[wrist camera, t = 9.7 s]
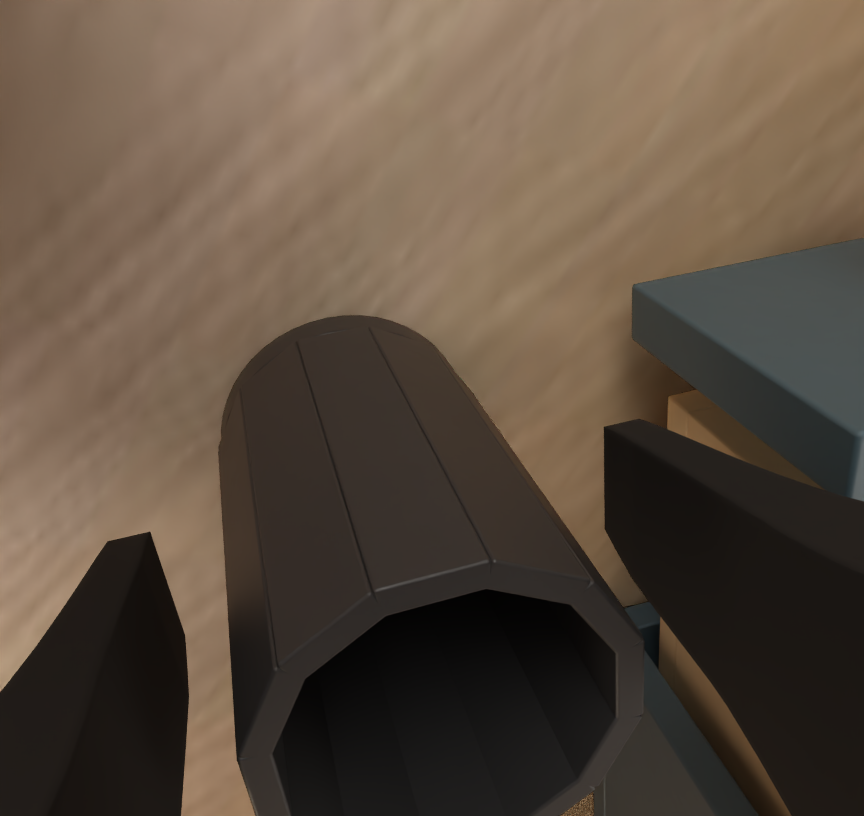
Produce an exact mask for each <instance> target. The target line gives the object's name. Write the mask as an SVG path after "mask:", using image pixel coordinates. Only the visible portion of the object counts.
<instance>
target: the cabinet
mask: <svg viewBox="0 0 864 816" xmlns="http://www.w3.org/2000/svg"><path fill="white" fill-rule="evenodd" d="M624 609H625V611H626V612H627V614H628V615H629V616H630V618H631V619H632V621H633V622H634V624H635V625H636V626H637V628H638V629H639V631H640V632H641V634H642V636H643V639H644V641H645V654H644V711H643V714H641V715H642V718H641V720H640V721H639V723H638V725H637V726H636V728H635V729H634V731H633V732H632V734H631V736H630V737H629V739H628V740H627V742H626V744H625V745H624V747H623V748H622V750H621V751H620V753H619V755H618V756H617V758H616V759H615V761H614V763H613V764H612V766H611V767H610V769H609V770H608V772H607V774H606V775H605V777H604V778H603V780H602V782H601V783H600V785H599V786H597V787H595V790H594V816H759V815H758V813H757V812H756V810H755V809H754V807H753V806H752V805H751V803H750V802H749V800H748V799H747V797H746V796H745V794H744V793H743V792H742V790H741V789H740V787H739V786H738V784H737V783H736V781H735V780H734V778H733V777H732V776H731V774H730V773H729V771H728V770H727V768H726V767H725V765H724V764H723V763H722V761H721V760H720V758H719V757H718V755H717V754H716V752H715V751H714V750H713V748H712V747H711V745H710V744H709V742H708V741H707V739H706V738H705V736H704V735H703V734H702V732H701V731H700V729H699V728H698V726H697V725H696V723H695V722H694V721H693V719H692V718H691V716H690V715H689V713H688V712H687V710H686V709H685V708H684V706H683V705H682V703H681V702H680V700H679V699H678V697H677V696H676V694H675V693H674V692H673V690H672V689H671V687H670V686H669V684H668V683H667V681H666V680H665V679H664V677H663V676H662V674H661V673H660V671H659V670H658V668H659V640H660V615H659V614H658V613H657V611H656V610H655V609H654V607H653V606H652V605H651V603H650V602H645V603H642V604H638V605H634V606H631V607H627V608H624Z"/></svg>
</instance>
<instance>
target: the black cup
mask: <svg viewBox="0 0 864 816" xmlns="http://www.w3.org/2000/svg"><path fill="white" fill-rule="evenodd" d="M218 456H219V472H220V489H221V506H222V522H223V539H224V556H225V572H226V589H227V605H228V622H229V639H230V655H231V672H232V689H233V705H234V722H235V738H236V755H237V762H238V765H239V768H240V771H241V774H242V776H243V779H244V782H245V785H246V788H247V791H248V794H249V797H250V800H251V803H252V806H253V809H254V812H255V815H256V816H560V815H561V814H563V813H564V812H566V811H567V810H568V809H570V808H571V807H572V806H574V805H575V804H576V803H578V802H579V801H580V800H582V799H583V798H585V797H586V796H587V795H589V794H590V793H591V792H593V791H594V790H595V787H597V786H599V785H600V783H601V782H602V780H603V778H604V777H605V775H606V774H607V772H608V770H609V769H610V767H611V766H612V764H613V763H614V761H615V759H616V758H617V756H618V755H619V753H620V751H621V750H622V748H623V747H624V745H625V744H626V742H627V740H628V739H629V737H630V736H631V734H632V732H633V731H634V729H635V728H636V726H637V725H638V723H639V721H640V720H641V718H642V715H641V714H643V711H644V654H645V641H644V639H643V636H642V634H641V632H640V631H639V629H638V628H637V626H636V625H635V624H634V622H633V621H632V619H631V618H630V616H629V615H628V614H627V612H626V611H625V609H624V608H623V607H622V605H621V604H620V602H619V601H618V599H617V598H616V597H615V595H614V594H613V592H612V591H611V589H610V588H609V587H608V585H607V584H606V582H605V581H604V579H603V578H602V577H601V575H600V574H599V572H598V571H597V570H596V568H595V567H594V565H593V564H592V562H591V561H590V560H589V558H588V557H587V555H586V554H585V552H584V551H583V550H582V548H581V547H580V545H579V544H578V543H577V541H576V540H575V538H574V537H573V535H572V534H571V533H570V531H569V530H568V528H567V527H566V525H565V524H564V523H563V521H562V520H561V518H560V517H559V515H558V514H557V513H556V511H555V510H554V508H553V507H552V506H551V504H550V503H549V501H548V500H547V498H546V497H545V496H544V494H543V493H542V491H541V490H540V488H539V487H538V486H537V484H536V483H535V481H534V480H533V479H532V477H531V476H530V474H529V473H528V471H527V470H526V469H525V467H524V466H523V464H522V463H521V461H520V460H519V459H518V457H517V456H516V454H515V453H514V451H513V450H512V449H511V447H510V446H509V444H508V443H507V442H506V440H505V439H504V437H503V436H502V434H501V433H500V432H499V430H498V429H497V427H496V426H495V424H494V423H493V422H492V420H491V419H490V417H489V416H488V415H487V413H486V412H485V410H484V409H483V407H482V406H481V405H480V403H479V402H478V400H477V399H476V397H475V396H474V395H473V393H472V392H471V390H470V389H469V388H468V387H467V386H466V384H465V383H464V382H463V381H462V380H461V378H460V377H459V376H458V375H457V374H456V373H455V371H454V370H453V368H452V367H451V366H450V364H449V363H448V361H447V360H446V359H445V357H444V356H443V354H442V353H441V352H440V351H439V350H438V349H437V348H436V347H435V346H434V345H433V344H432V343H431V342H429V341H428V340H427V339H425V338H424V337H423V336H421V335H420V334H418V333H417V332H415V331H413V330H411V329H409V328H408V327H405V326H403V325H400V324H398V323H395V322H393V321H389V320H385V319H381V318H377V317H368V316H338V317H331V318H325V319H321V320H317V321H313V322H310V323H307V324H305V325H302V326H300V327H297V328H295V329H292V330H291V331H289V332H287V333H285V334H283V335H282V336H280V337H278V338H277V339H275V340H274V341H273V342H271V343H270V344H268V345H267V346H266V347H264V348H263V349H262V350H261V351H260V352H259V353H258V354H257V355H256V356H255V357H254V358H253V359H252V360H251V361H250V362H249V363H248V365H247V366H246V367H245V368H244V370H243V371H242V372H241V374H240V375H239V377H238V379H237V380H236V382H235V383H234V385H233V387H232V389H231V392H230V394H229V396H228V399H227V401H226V405H225V409H224V413H223V418H222V426H221V441H220V444H219V451H218Z"/></svg>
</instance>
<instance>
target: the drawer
mask: <svg viewBox="0 0 864 816" xmlns="http://www.w3.org/2000/svg"><path fill="white" fill-rule="evenodd" d="M632 338H633V340H634V341H635V342H637V343H638V344H639V345H641V346H642V347H643V348H644V349H646V350H647V351H648V352H649V353H651V354H652V355H653V356H655V357H656V358H657V359H658V360H660V361H661V362H662V363H663V364H665V365H666V366H667V367H669V368H670V369H671V370H672V371H674V372H675V373H676V374H677V375H679V376H680V377H681V378H683V379H684V380H685V381H686V382H688V383H689V384H690V385H691V386H693V387H694V388H695V389H697V390H694V391H689V392H685V393H680V394H676V395H672V396H669V398H668V419H667V429H668V430H671V431H673V432H675V433H678V434H680V435H683V436H685V437H687V438H690V439H692V440H694V441H697V442H699V443H702V444H704V445H706V446H709V447H711V448H713V449H716V450H718V451H721V452H723V453H725V454H728V455H730V456H733V457H735V458H738V459H740V460H743V461H745V462H748V463H750V464H753V465H755V466H758V467H760V468H763V469H766V470H768V471H771V472H773V473H776V474H779V475H782V476H785V477H787V478H790V479H793V480H796V481H799V482H802V483H804V484H807V485H810V486H813V487H816V488H819V489H822V490H826V491H829V492H832V493H835V494H838V495H842V496H846V497H849V498H853V499H857V500H860V501H864V238H860V239H855V240H850V241H845V242H840V243H835V244H831V245H826V246H821V247H816V248H811V249H806V250H801V251H796V252H791V253H786V254H781V255H776V256H771V257H766V258H761V259H756V260H751V261H747V262H742V263H737V264H732V265H727V266H722V267H717V268H712V269H707V270H702V271H697V272H692V273H687V274H682V275H677V276H672V277H667V278H663V279H658V280H653V281H648V282H643V283H638V284H634V285H633V287H632ZM658 670H659V671H660V673H661V674H662V676H663V677H664V679H665V680H666V681H667V683H668V684H669V686H670V687H671V689H672V690H673V692H674V693H675V694H676V696H677V697H678V699H679V700H680V702H681V703H682V705H683V706H684V708H685V709H686V710H687V712H688V713H689V715H690V716H691V718H692V719H693V721H694V722H695V723H696V725H697V726H698V728H699V729H700V731H701V732H702V734H703V735H704V736H705V738H706V739H707V741H708V742H709V744H710V745H711V747H712V748H713V750H714V751H715V752H716V754H717V755H718V757H719V758H720V760H721V761H722V763H723V764H724V765H725V767H726V768H727V770H728V771H729V773H730V774H731V776H732V777H733V778H734V780H735V781H736V783H737V784H738V786H739V787H740V789H741V790H742V792H743V793H744V794H745V796H746V797H747V799H748V800H749V802H750V803H751V805H752V806H753V807H754V809H755V810H756V812H757V813H758V815H759V816H791V814H790V812H789V811H788V809H787V807H786V805H785V804H784V802H783V800H782V798H781V797H780V795H779V793H778V791H777V790H776V788H775V786H774V784H773V783H772V781H771V779H770V777H769V776H768V774H767V772H766V770H765V769H764V767H763V765H762V763H761V762H760V760H759V758H758V756H757V755H756V753H755V751H754V750H753V748H752V747H751V745H750V743H749V742H748V740H747V738H746V737H745V735H744V733H743V732H742V730H741V728H740V727H739V725H738V723H737V722H736V720H735V718H734V717H733V715H732V714H731V712H730V710H729V709H728V707H727V705H726V704H725V702H724V701H723V700H722V698H721V697H720V695H719V694H718V692H717V691H716V689H715V688H714V687H713V685H712V684H711V682H710V681H709V680H708V678H707V677H706V676H705V674H704V673H703V672H702V670H701V669H700V668H699V666H698V665H697V664H696V662H695V661H694V660H693V659H692V657H691V656H690V655H689V653H688V652H687V651H686V649H685V648H684V647H683V645H682V644H681V643H680V642H679V640H678V639H677V638H676V636H675V635H674V634H673V632H672V631H671V630H670V628H669V627H668V626H667V624H666V623H665V622H664V621H663V619H662V618H661V617H660V640H659V668H658Z"/></svg>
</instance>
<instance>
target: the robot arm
mask: <svg viewBox="0 0 864 816" xmlns="http://www.w3.org/2000/svg"><path fill="white" fill-rule="evenodd" d="M604 500H605V530H606V532H607V534H608V536H609V538H610V540H611V542H612V543H613V545H614V547H615V549H616V551H617V553H618V555H619V557H620V558H621V560H622V562H623V564H624V565H625V567H626V569H627V570H628V572H629V574H630V576H631V577H632V579H633V580H634V582H635V583H636V584H637V586H638V587H639V589H640V590H641V591H642V593H643V594H644V595H645V597H646V598H647V599H648V601H649V602H650V603H651V605H652V606H653V607H654V609H655V610H656V611H657V613H658V614H659V615H660V617H661V618H662V619H663V621H664V622H665V623H666V624H667V626H668V627H669V628H670V630H671V631H672V632H673V634H674V635H675V636H676V638H677V639H678V640H679V642H680V643H681V644H682V645H683V647H684V648H685V649H686V651H687V652H688V653H689V655H690V656H691V657H692V659H693V660H694V661H695V662H696V664H697V665H698V666H699V668H700V669H701V670H702V672H703V673H704V674H705V676H706V677H707V678H708V680H709V681H710V682H711V684H712V685H713V687H714V688H715V689H716V691H717V692H718V694H719V695H720V697H721V698H722V700H723V701H724V702H725V704H726V705H727V707H728V709H729V710H730V712H731V714H732V715H733V717H734V718H735V720H736V722H737V723H738V725H739V727H740V728H741V730H742V732H743V733H744V735H745V737H746V738H747V740H748V742H749V743H750V745H751V747H752V748H753V750H754V751H755V753H756V755H757V756H758V758H759V760H760V762H761V763H762V765H763V767H764V769H765V770H766V772H767V774H768V776H769V777H770V779H771V781H772V783H773V784H774V786H775V788H776V790H777V791H778V793H779V795H780V797H781V798H782V800H783V802H784V804H785V805H786V807H787V809H788V811H789V812H790V814H791V816H864V501H860V500H857V499H853V498H849V497H846V496H842V495H838V494H835V493H832V492H829V491H826V490H822V489H819V488H816V487H813V486H810V485H807V484H804V483H802V482H799V481H796V480H793V479H790V478H787V477H785V476H782V475H779V474H776V473H773V472H771V471H768V470H766V469H763V468H760V467H758V466H755V465H753V464H750V463H748V462H745V461H743V460H740V459H738V458H735V457H733V456H730V455H728V454H725V453H723V452H721V451H718V450H716V449H713V448H711V447H709V446H706V445H704V444H702V443H699V442H697V441H694V440H692V439H690V438H687V437H685V436H683V435H680V434H678V433H675V432H673V431H671V430H668V429H666V428H663V427H661V426H658V425H655V424H653V423H650V422H647V421H644V420H641V419H636V420H632V421H627V422H623V423H619V424H614V425H610V426H606V427H604ZM188 704H189V688H188V670H187V656H186V642H185V634H184V631H183V628H182V625H181V622H180V619H179V616H178V613H177V610H176V607H175V604H174V601H173V598H172V595H171V592H170V589H169V586H168V583H167V580H166V577H165V575H164V572H163V569H162V566H161V563H160V560H159V557H158V554H157V551H156V548H155V545H154V542H153V539H152V536H151V533H150V532H147V533H142V534H138V535H134V536H129V537H125V538H121V539H117V540H112V541H108V542H107V543H106V545H105V546H104V547H103V549H102V550H101V552H100V553H99V555H98V556H97V557H96V559H95V560H94V562H93V563H92V565H91V567H90V568H89V570H88V571H87V573H86V574H85V576H84V577H83V579H82V580H81V582H80V583H79V585H78V586H77V588H76V589H75V591H74V592H73V594H72V595H71V597H70V598H69V600H68V601H67V603H66V604H65V606H64V607H63V609H62V610H61V612H60V613H59V615H58V616H57V617H56V619H55V620H54V622H53V623H52V625H51V626H50V628H49V629H48V630H47V632H46V633H45V635H44V636H43V638H42V639H41V640H40V642H39V643H38V645H37V646H36V647H35V649H34V650H33V651H32V652H31V654H30V655H29V656H28V658H27V659H26V660H25V662H24V663H23V664H22V665H21V667H20V668H19V669H18V671H17V672H16V673H15V674H14V676H13V677H12V678H11V680H10V681H9V682H8V683H7V685H6V686H5V687H4V689H3V690H2V691H1V692H0V816H181V807H182V793H183V779H184V765H185V751H186V736H187V720H188Z"/></svg>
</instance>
